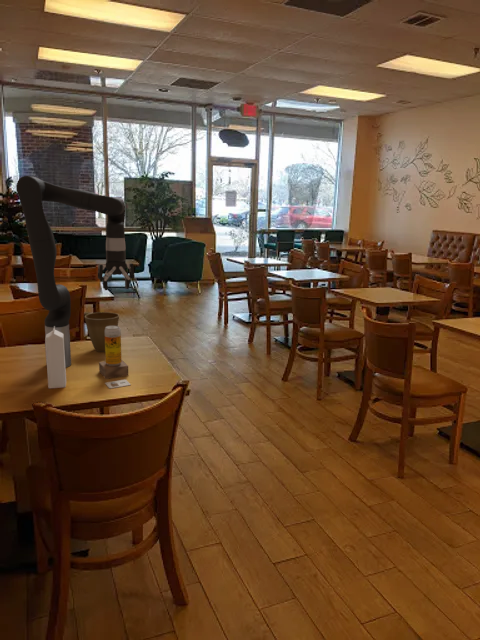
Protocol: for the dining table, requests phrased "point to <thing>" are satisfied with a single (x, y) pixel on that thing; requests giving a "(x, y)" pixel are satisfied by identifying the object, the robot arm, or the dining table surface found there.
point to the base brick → (113, 370)
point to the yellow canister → (113, 345)
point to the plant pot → (100, 327)
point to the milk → (55, 359)
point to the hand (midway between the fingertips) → (116, 289)
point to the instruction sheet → (117, 384)
